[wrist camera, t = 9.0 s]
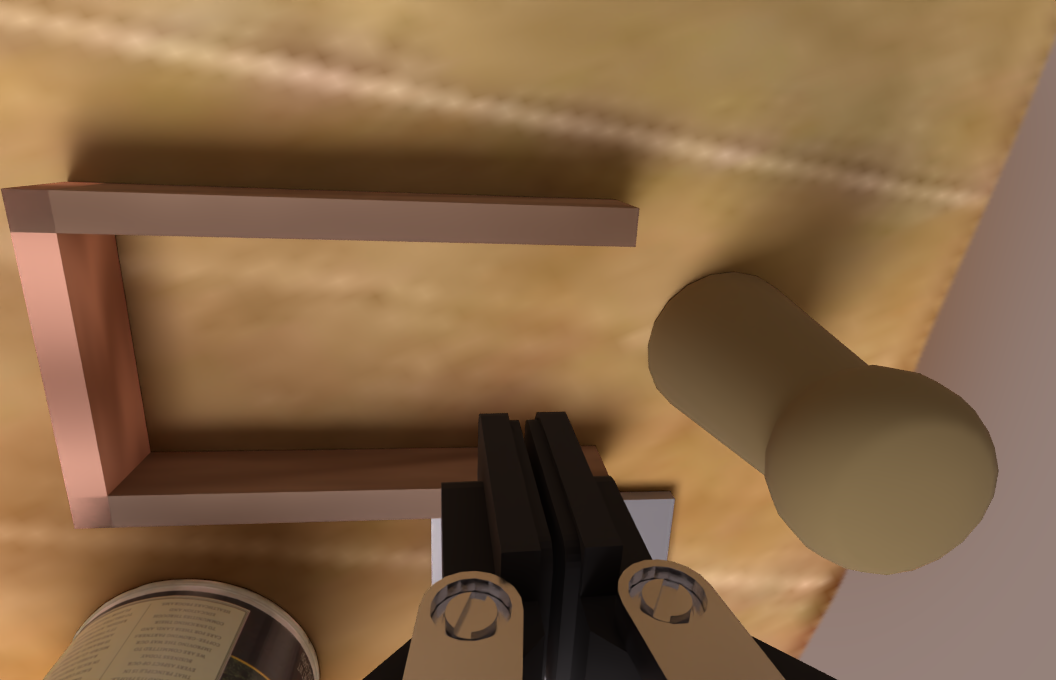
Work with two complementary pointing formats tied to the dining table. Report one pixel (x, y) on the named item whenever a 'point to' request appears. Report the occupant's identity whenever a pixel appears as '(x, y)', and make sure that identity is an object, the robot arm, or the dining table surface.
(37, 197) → the brown u-shaped frame
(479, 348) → the dining table surface
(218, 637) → the coffee can
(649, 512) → the coaster
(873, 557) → the tan hourglass shape
